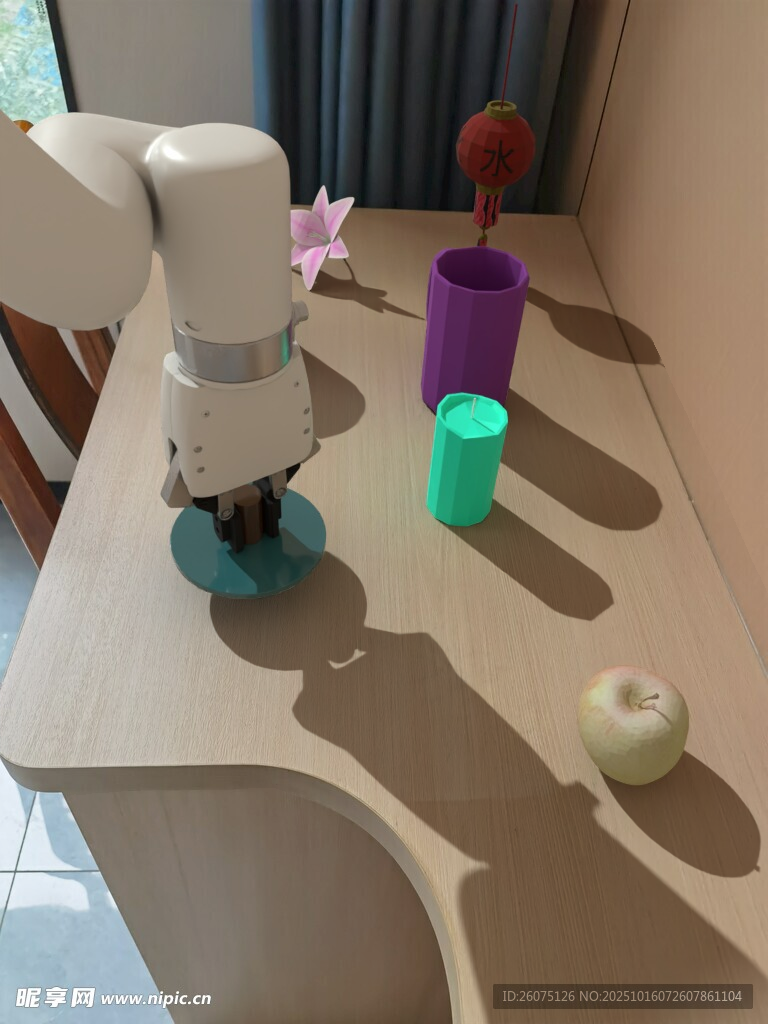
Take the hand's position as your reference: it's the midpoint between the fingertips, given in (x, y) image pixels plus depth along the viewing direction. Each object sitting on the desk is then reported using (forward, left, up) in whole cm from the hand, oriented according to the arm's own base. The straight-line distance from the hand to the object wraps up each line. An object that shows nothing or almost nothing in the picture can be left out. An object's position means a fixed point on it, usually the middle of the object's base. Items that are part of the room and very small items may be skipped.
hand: (248, 532), depth 64 cm
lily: (+7, +50, -4) cm, 51 cm away
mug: (+21, +26, -4) cm, 33 cm away
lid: (0, 0, -1) cm, 1 cm away
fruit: (+26, -18, -4) cm, 32 cm away
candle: (+19, +7, -4) cm, 20 cm away
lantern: (+28, +51, -4) cm, 58 cm away
